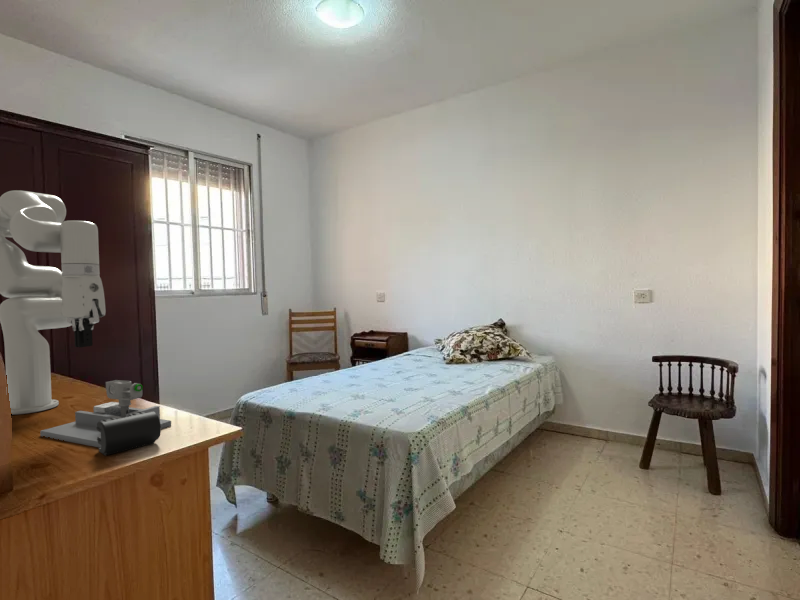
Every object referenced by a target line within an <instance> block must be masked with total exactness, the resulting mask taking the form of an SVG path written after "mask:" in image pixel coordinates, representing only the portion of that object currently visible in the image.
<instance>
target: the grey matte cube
mask: <svg viewBox="0 0 800 600" xmlns="http://www.w3.org/2000/svg"><path fill="white" fill-rule="evenodd" d="M118 405H119V402H116V401H110V402H105V403H102V404H98V405H94V406H93V413H100V414H107V415H113V416H120V417H121V407H119V406H118Z"/></svg>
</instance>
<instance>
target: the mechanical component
mask: <svg viewBox="0 0 800 600" xmlns="http://www.w3.org/2000/svg"><path fill="white" fill-rule="evenodd" d="M143 389H144V388H143V385H142V384H141V383H139V382H134V383H132V381H131V380H123V379H122V380H120V379H119V380H118V379H115V380H110V381H105V391H106V396H107V398H108V399H111V400H118V403H119V405H118V406H119V407H121V417H126V414H128V413H129V407H130V406H131V405H132V403H131V401H132V400H137V399H140V398H142V397H143Z"/></svg>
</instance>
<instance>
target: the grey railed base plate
mask: <svg viewBox="0 0 800 600" xmlns="http://www.w3.org/2000/svg"><path fill="white" fill-rule="evenodd" d="M160 410H161V409H160V405H154V406H151V407H147V408H137V407H130V406H129V413H128V414H126V417H130V415H131V414H133V413H134V414H136V413H139V412H144V413H149V412H153V411H154V412H156V413H157V415H158V417H159V420H160V425H161V430H162V429H165V428H169V427H171V426H172V420H169V419H162V418H161V412H160ZM74 414H75V415H74V416H75V421H72V422H69V423H64V424H61V425H57V426H53V427H49V428H44V429H42V430H40V434H39V435H40V437H43V436H45V437H44V438H48V437H50V438H49V439H53V438H54V439H55V440H58V439H59V441H63V440H64V441H63V442H69V443H74V444H79V445H85V446H90V447H95V448H98V449H99V448H101V445H100V444H98V440H97V438H98V436H101V432H99V431H98V430H97V429H96V428H97V423H98V422H99V421H102V420H104V419H105V420H107V419H110V418H115V419H120V418H125V417H120V416H113V415H107V414H100V413H94V411H93V412H92V411H86V410H78V411H75V412H74Z"/></svg>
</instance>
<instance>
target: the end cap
mask: <svg viewBox="0 0 800 600" xmlns="http://www.w3.org/2000/svg"><path fill="white" fill-rule="evenodd" d="M96 429H97V430H98V431H99V432H101V436H98V438H97V440H98V444H100V445H101V448H99V447H98V452H99V453H101V454H102V455H103V456H109V455H114V454H117V453H120V452H124V451H128V450H133V449H136V448H140V447H144V446H147V445H152V444H155V442H156V441H157V440H159V438H160V436H161V431H162V429H161V425H160V420H159V417H158V415H157V413H156V412H154V411H153V412H149V413H144V412H139V413H136V414H134V413H133V414H131V415H130V417H125V418H120V419H115V418H110V419H107V420H105V419H104V420H102V421H99V422H98V423H97V428H96Z"/></svg>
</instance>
